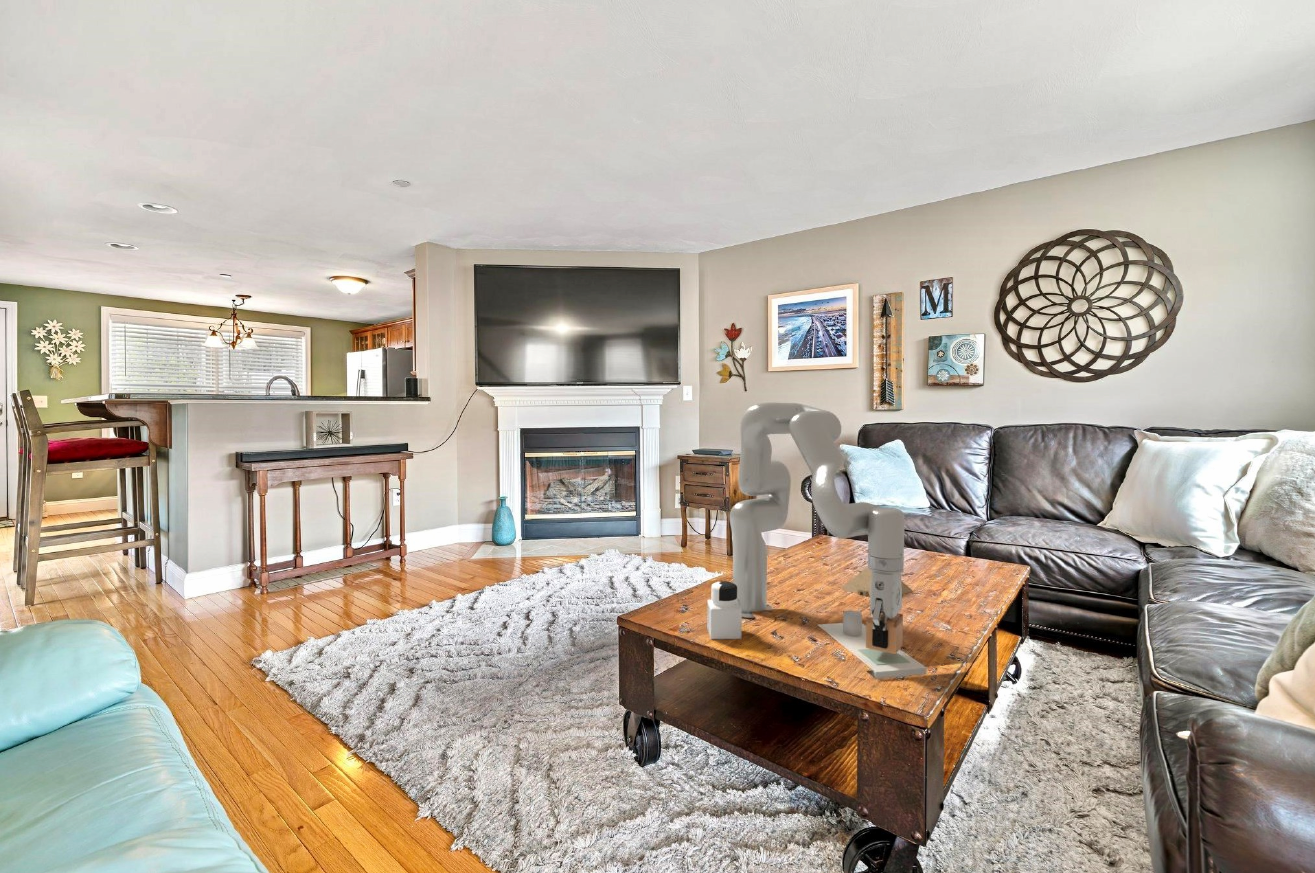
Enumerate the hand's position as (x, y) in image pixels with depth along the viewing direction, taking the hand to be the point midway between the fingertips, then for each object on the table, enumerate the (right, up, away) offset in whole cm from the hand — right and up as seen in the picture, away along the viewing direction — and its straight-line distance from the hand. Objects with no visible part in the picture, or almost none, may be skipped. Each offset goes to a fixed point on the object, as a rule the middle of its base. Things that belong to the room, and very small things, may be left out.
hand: (884, 641), depth 134 cm
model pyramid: (+18, -3, +54) cm, 57 cm away
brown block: (0, -1, 0) cm, 1 cm away
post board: (-1, -5, +7) cm, 9 cm away
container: (-34, -4, +17) cm, 39 cm away
